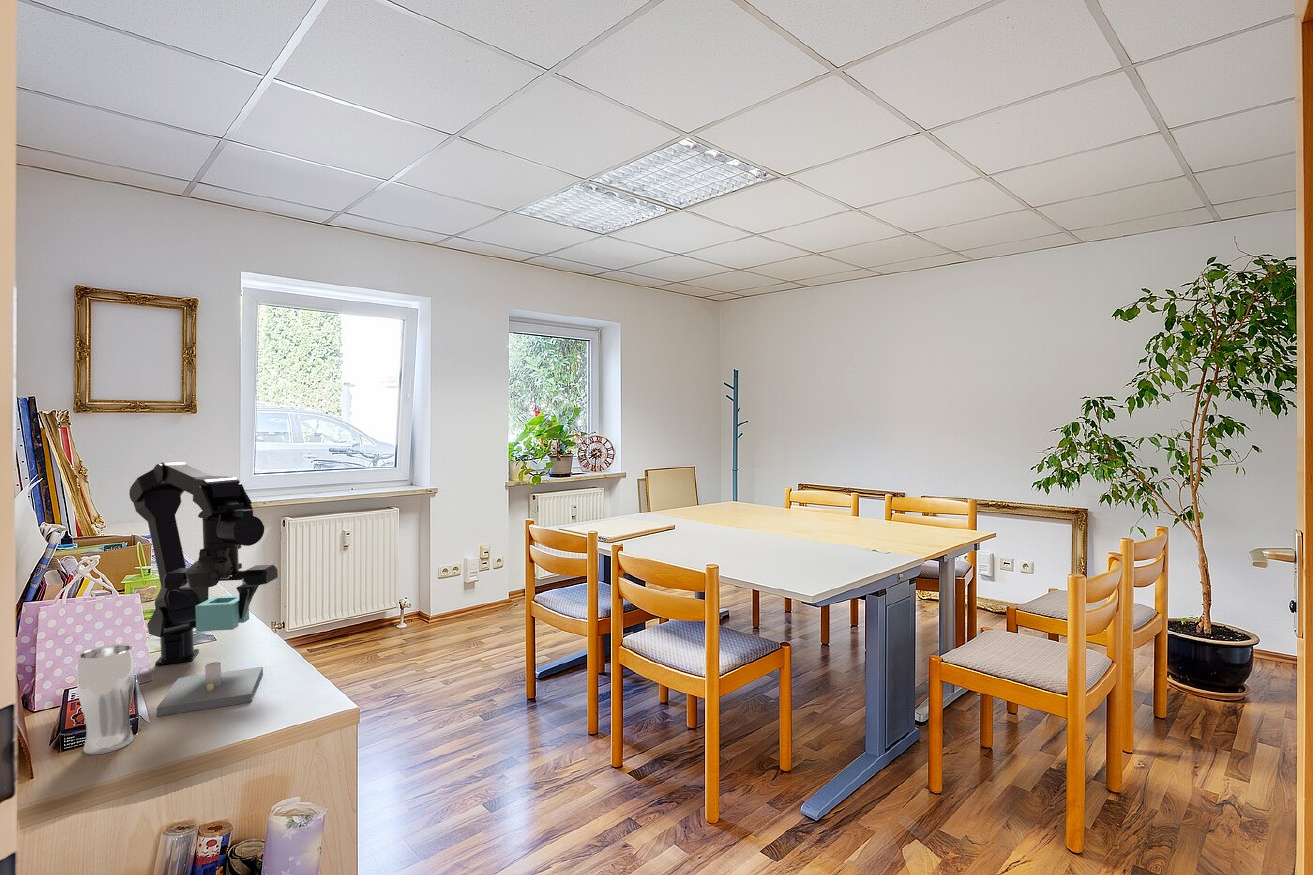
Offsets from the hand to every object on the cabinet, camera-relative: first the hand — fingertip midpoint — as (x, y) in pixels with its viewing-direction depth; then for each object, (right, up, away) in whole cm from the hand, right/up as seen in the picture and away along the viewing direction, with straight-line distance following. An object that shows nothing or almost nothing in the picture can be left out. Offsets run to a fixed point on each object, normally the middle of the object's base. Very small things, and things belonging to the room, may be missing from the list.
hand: (223, 619), depth 132 cm
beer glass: (0, -13, -27) cm, 30 cm away
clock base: (+4, -12, -8) cm, 15 cm away
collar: (0, -1, 0) cm, 1 cm away
